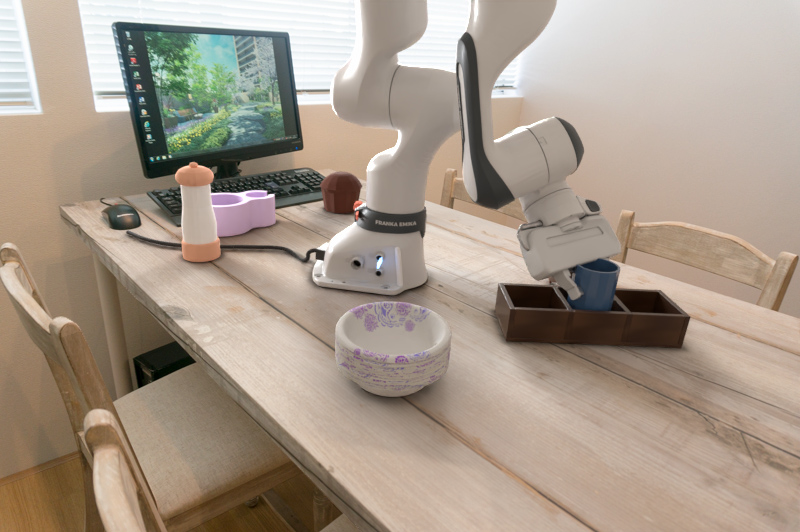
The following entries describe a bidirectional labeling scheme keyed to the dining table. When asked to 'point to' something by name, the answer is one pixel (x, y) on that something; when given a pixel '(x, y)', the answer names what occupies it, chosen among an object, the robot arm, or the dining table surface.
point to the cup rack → (589, 317)
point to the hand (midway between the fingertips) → (594, 292)
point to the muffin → (340, 192)
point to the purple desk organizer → (242, 211)
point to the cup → (595, 285)
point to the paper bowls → (392, 347)
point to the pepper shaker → (197, 214)
